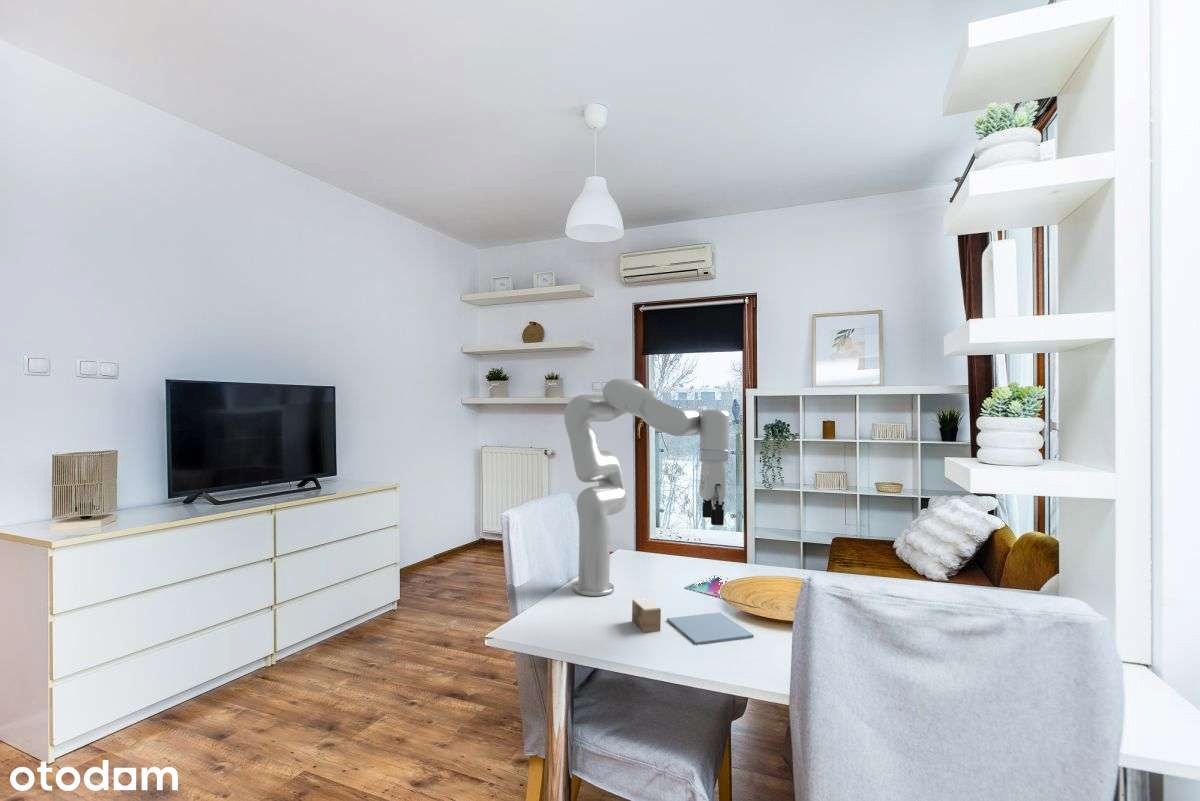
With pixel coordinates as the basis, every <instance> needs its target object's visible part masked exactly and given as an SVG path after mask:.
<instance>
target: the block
mask: <svg viewBox="0 0 1200 801" xmlns="http://www.w3.org/2000/svg"><path fill="white" fill-rule="evenodd" d="M631 606H632V607H631V608H632V609H631V621H632V623H633V624H634V625H635V626H636V627H637V628H638V629H639V630H640V631H641V632H642V633H643V634H648V633H659V632H661V621H662V620H661V619H662V616H661V615H662V611H661V610H662V609H661V607H660V606H659V605H658V604H656V602H654V601H653V600H652V599H650V598H649V597H643V598H642V597H641V598H633V599H632V605H631Z"/></svg>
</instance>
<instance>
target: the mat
mask: <svg viewBox="0 0 1200 801" xmlns="http://www.w3.org/2000/svg"><path fill="white" fill-rule="evenodd" d="M666 620H667V622H668V623H670V624H671V625H672V626H673V627H674V628H676V630H678V631H679V632H680V633H682V635H684V637H686V638H687V639H689V640H690V641H691V642H692V643H694V645H696V646H697V645H704V644H705V645H706V644H713V643H719V642H727V641H728V642H729V641H736V640H743V639H751V637H752V638H754V637H755V636H754V635H755V634H753V633H752V632H750V631H749V630H747V629H746V628H745V627H743V626H741V625H740V624H738V623H737V622H735V621H734V620H732V619H731V618H729V617H728V616H726V615H725V614H723V613H722V612H711V613H702V614H701V613H700V614H693V615H686V616H683V615H682V616H675V617H667V618H666Z"/></svg>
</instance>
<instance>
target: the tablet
mask: <svg viewBox="0 0 1200 801" xmlns="http://www.w3.org/2000/svg"><path fill="white" fill-rule="evenodd" d="M713 576H714V578H712V580H711V579H710V578H709V577H708V578H709V579H710V580H709V581H710V582H711V583H710V582H708V581H707V580H706V581H705V582H704V581H703V582H704V583H703V582H702V583H701V584H702V585H701V584H700V583H699V584H698V585H697V584H696V585H697V586H698V587H697V586H696V585H695V584H694V583H691V584H688V585H686V586H685V587H684V589H685V590H688V589H689V590H688V591H691V590H693V591H692V592H695V591H697V592H696V593H699V592H700V594H702V593H704V594H703V595H706V594H707V595H706V596H710V595H711V596H710V597H713V596H715V597H714V598H717V597H719V598H718V599H721V598H720V594H719V593H718V592H719V590H720V587H721V585H722V584H723V582H719V581H720V580H722V579H720V578H719V577H717V578H715V576H716V575H713ZM726 578H727V580H728V578H729V577H726ZM719 579H720V580H719ZM726 582H727V581H725V583H726ZM719 583H720V585H719ZM694 585H695V586H694Z"/></svg>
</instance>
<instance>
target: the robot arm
mask: <svg viewBox="0 0 1200 801" xmlns="http://www.w3.org/2000/svg"><path fill="white" fill-rule="evenodd" d="M627 413H628V414H630V415H632V416H635V417H637V418H640V419H642V421H643V422H644V423H645V424H647V425H648V426H650V427H651V428H653V429H656V430H658V431H660V432H662V433H664V434H667V435H670V436H674V437H687V436H689V437H691V436H693V437H694V436H699V462H700V463H701V466H700V477H699V496H700V497H701V498H702V518H706V519H707V518H709V519H710V524H711V526H724V525H725V524H724V522H725V521H724V520H725V519H724V518H725V501H724V500H726V492H727V491H726V488H727V486H726V485H727V484H726V482H727V481H726V476H727V475H726V464H727V463H729V455H730V454H729V452H730V450H729V445H730V444H729V442H730V414H729V411H727V410H726V409H700V408H696V407H695V408H693V407H691V408H690V407H676V406H673V405H670V404H668V403H666V402H663V401H662V400H659V397H658V394H657V393H656V392H655V391H653V390H651V389H648V388H646V387H644V386H643V384H642V383H640V381H638V380H635V379H627V378H613V379H610V380H609V381H607V382H606V383H605V384H604V386H603V388H602V394H588V393H587V394H580V395H577V396H574V397H573V398H572V399H570V401H569V402H568V403H567V404H566V407H565V410H564V416H563V420H564V426H565V429H566V433H567V435H568V439H569V443H570V449H571V450H570V451H571V456H572V461H573V466H574V471H575V475H576V478H577V479H578V480H579V481H580V482H582V483H596V482H598V485H595V486H590V487H587V488H584V489H583V490H582V491H581V492H580V493H579V494H578V496H577V499H576V511H577V516H578V529H579V530H578V578H577V579H578V580H577V582H575V583H573V586H572V589H573V590H572V591H573V592H575V593H576V594H580V595H583V596H589V597H590V596H591V597H599V596H600V597H601V596H607V595H610V594H612V593H614V591H615V585H614V584H613V583H611V582H610V567H611V566H610V562H611V560H610V559H611V558H610V557H611V555H610V554H611V530H610V525H609V523H608V520H607V516H611V515H616V514H619V513H621V512H622V511H623V510H624V509H625V508H626V504H627V491H626V486H625V482H624V481H625V480H624V477H623V471H622V467H621V464H620V461H619V459H618V457H617V456H616V455H615V453H613V452H611V451H608V450H600V448H599V443H598V438H597V435H596V432H595V431H594V429H593V428H592V426H591V425H590V423H592V422H593V423H595V422H597V423H598V422H600V423H601V422H604V423H605V422H610V421H611V422H612V421H614V420H616V419H617V418H619V417H621V416H623V415H625V414H627Z"/></svg>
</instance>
